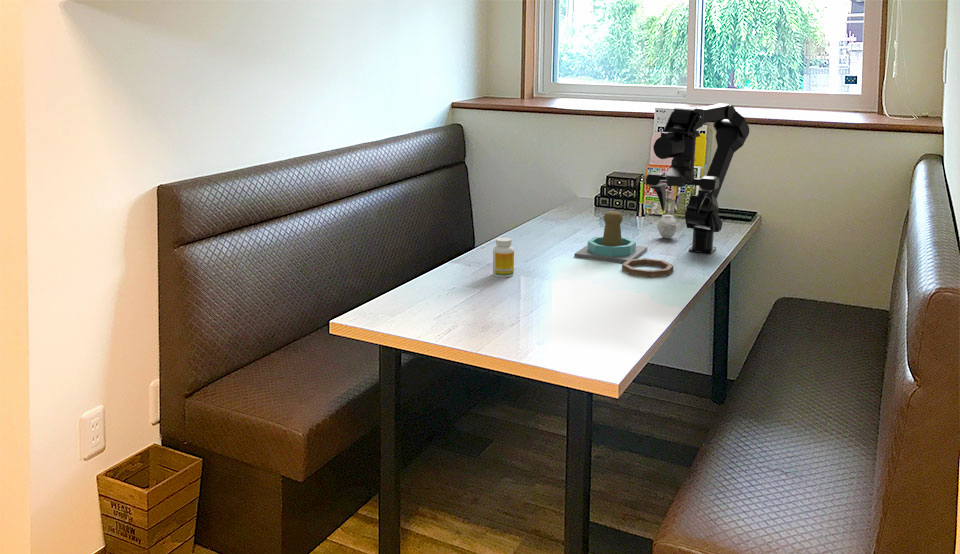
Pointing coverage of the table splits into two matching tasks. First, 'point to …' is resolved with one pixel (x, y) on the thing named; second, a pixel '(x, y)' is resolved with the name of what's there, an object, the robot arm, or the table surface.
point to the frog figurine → (667, 226)
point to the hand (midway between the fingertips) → (680, 212)
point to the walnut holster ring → (647, 273)
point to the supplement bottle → (503, 258)
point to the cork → (612, 229)
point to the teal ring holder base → (611, 250)
